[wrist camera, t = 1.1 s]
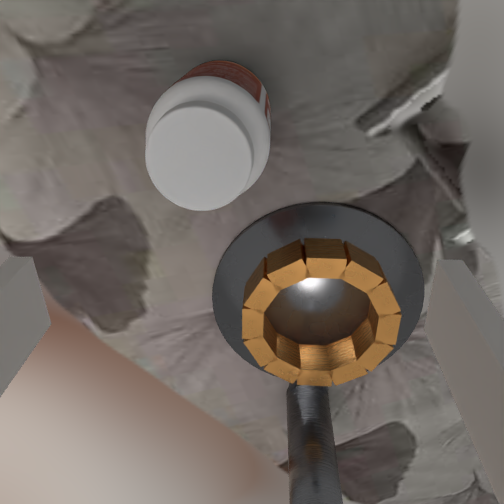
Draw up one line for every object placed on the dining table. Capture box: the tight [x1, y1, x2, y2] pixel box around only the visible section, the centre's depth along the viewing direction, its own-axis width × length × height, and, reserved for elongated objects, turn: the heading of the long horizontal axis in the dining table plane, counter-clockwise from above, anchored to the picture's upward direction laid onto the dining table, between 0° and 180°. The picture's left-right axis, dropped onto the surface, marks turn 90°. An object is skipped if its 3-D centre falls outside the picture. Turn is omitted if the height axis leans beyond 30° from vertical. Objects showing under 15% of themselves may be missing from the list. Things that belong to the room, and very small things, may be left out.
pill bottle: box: [145, 60, 271, 211], centre depth 25 cm, size 6×6×11 cm
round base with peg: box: [212, 202, 424, 504], centre depth 31 cm, size 20×16×14 cm
